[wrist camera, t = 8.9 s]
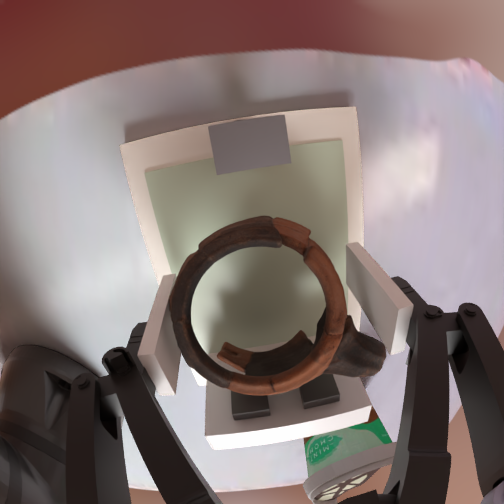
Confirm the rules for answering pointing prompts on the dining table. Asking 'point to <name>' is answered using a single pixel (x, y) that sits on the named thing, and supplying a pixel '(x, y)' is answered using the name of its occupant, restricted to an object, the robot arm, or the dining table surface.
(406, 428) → the robot arm
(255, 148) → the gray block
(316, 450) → the food container
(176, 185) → the stand
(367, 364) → the pottery mug
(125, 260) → the dining table surface
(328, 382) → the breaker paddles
